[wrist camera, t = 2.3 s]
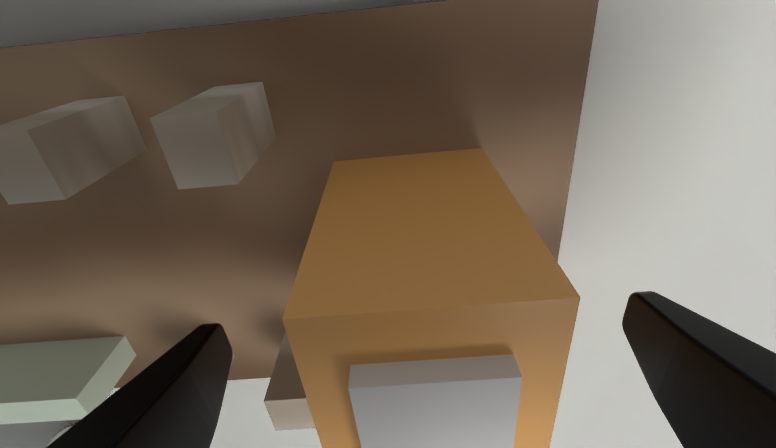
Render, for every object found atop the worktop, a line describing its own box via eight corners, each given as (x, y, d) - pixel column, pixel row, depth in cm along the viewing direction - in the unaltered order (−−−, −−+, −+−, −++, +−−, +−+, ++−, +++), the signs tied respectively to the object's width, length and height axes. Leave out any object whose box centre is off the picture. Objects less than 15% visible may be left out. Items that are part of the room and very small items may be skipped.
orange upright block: (477, 292, 13) (547, 515, 7) (358, 301, 13) (337, 525, 7) (481, 147, 10) (594, 319, 5) (333, 161, 10) (274, 341, 5)
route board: (531, 334, 15) (576, 437, 12) (-34, 374, 16) (-154, 480, 13) (577, -14, 9) (697, -25, 6) (-317, 81, 10) (-692, 124, 7)
